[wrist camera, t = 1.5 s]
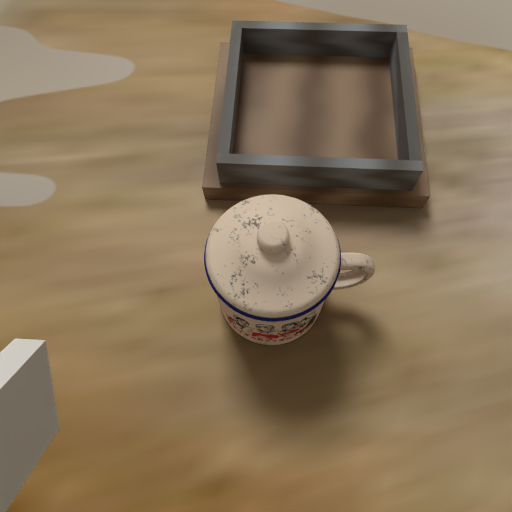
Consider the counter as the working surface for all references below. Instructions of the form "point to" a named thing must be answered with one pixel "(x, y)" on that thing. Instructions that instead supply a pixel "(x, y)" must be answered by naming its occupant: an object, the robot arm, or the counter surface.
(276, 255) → the teacup with lid
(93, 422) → the counter surface
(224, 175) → the collar stand
